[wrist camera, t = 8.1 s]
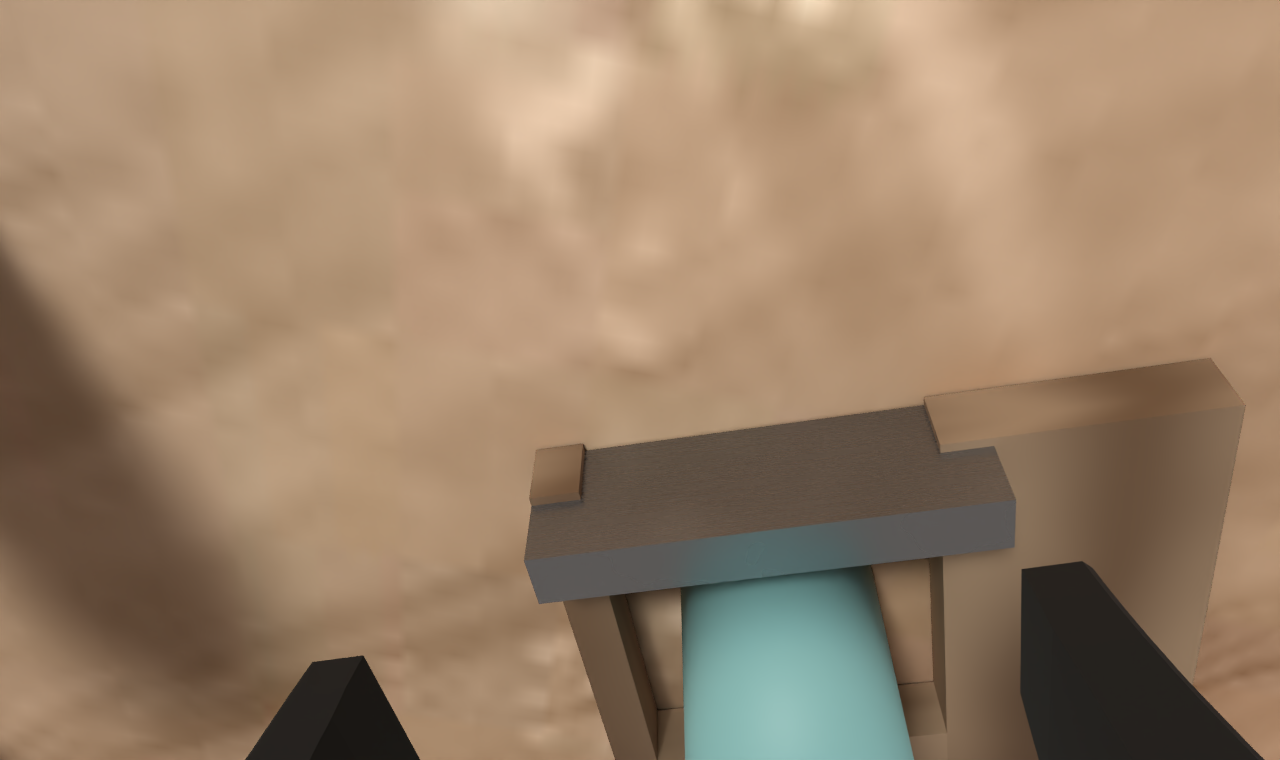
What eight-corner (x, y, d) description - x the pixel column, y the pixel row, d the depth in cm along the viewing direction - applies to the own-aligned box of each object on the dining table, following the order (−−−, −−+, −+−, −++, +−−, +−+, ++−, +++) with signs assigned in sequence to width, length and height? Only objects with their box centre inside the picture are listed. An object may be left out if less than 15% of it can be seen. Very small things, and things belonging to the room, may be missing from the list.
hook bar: (975, 397, 21) (1016, 499, 19) (974, 443, 22) (1015, 547, 19) (538, 457, 22) (524, 560, 20) (551, 499, 23) (538, 604, 20)
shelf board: (1210, 358, 20) (1245, 405, 19) (1125, 892, 32) (1143, 942, 31) (535, 450, 22) (529, 498, 21) (685, 927, 34) (686, 976, 32)
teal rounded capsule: (862, 499, 23) (917, 739, 18) (880, 632, 25) (932, 874, 20) (663, 529, 23) (664, 769, 19) (700, 656, 26) (709, 896, 21)
